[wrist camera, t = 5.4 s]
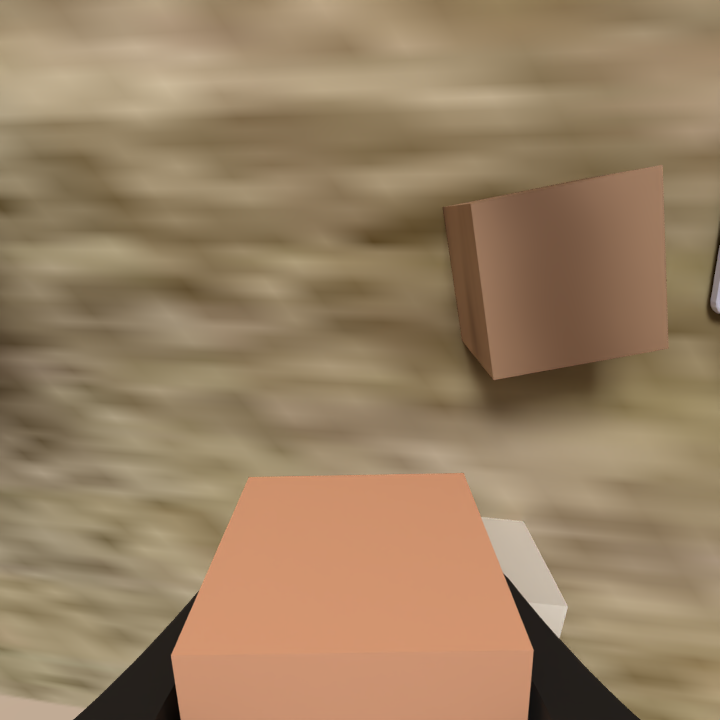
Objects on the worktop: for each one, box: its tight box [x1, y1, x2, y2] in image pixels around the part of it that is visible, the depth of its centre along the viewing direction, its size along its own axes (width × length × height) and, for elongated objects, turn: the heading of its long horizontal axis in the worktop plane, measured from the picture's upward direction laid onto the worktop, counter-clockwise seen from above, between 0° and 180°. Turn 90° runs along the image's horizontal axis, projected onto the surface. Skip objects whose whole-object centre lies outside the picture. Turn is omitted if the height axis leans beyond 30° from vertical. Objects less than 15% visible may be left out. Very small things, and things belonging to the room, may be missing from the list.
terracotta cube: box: [171, 473, 534, 720], centre depth 10 cm, size 5×5×5 cm
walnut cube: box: [443, 165, 668, 380], centre depth 16 cm, size 5×5×5 cm
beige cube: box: [481, 517, 568, 638], centre depth 20 cm, size 5×5×5 cm
